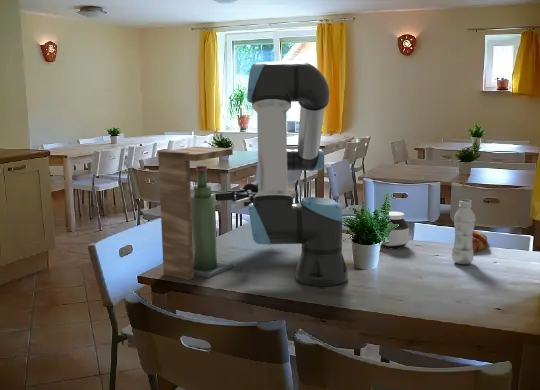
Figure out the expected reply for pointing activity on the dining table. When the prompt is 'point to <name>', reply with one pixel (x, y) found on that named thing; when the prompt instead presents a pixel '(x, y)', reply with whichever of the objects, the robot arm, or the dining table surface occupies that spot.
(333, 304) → the dining table surface
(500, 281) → the dining table surface
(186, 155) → the shelf
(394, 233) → the spread jar
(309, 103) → the robot arm
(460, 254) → the plastic bottle
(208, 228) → the wine bottle
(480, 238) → the croissant
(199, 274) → the seat pad
